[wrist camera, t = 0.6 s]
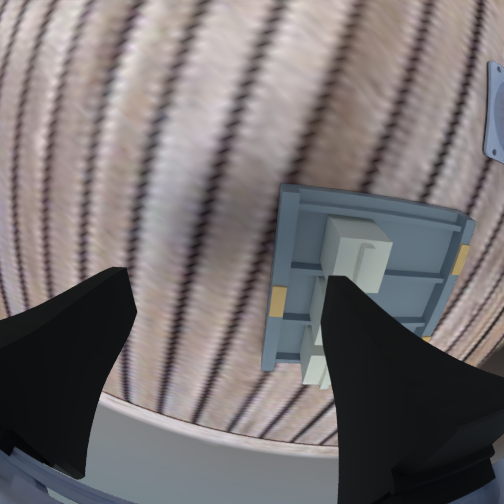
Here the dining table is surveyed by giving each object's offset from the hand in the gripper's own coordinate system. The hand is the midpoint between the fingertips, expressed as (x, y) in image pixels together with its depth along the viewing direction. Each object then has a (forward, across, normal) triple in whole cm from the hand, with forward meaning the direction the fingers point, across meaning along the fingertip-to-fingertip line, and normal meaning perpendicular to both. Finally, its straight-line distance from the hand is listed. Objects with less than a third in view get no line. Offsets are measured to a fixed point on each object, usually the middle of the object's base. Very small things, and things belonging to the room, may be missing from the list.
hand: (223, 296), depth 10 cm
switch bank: (+9, -9, +6) cm, 14 cm away
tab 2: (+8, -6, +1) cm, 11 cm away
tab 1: (+8, -6, +10) cm, 14 cm away
